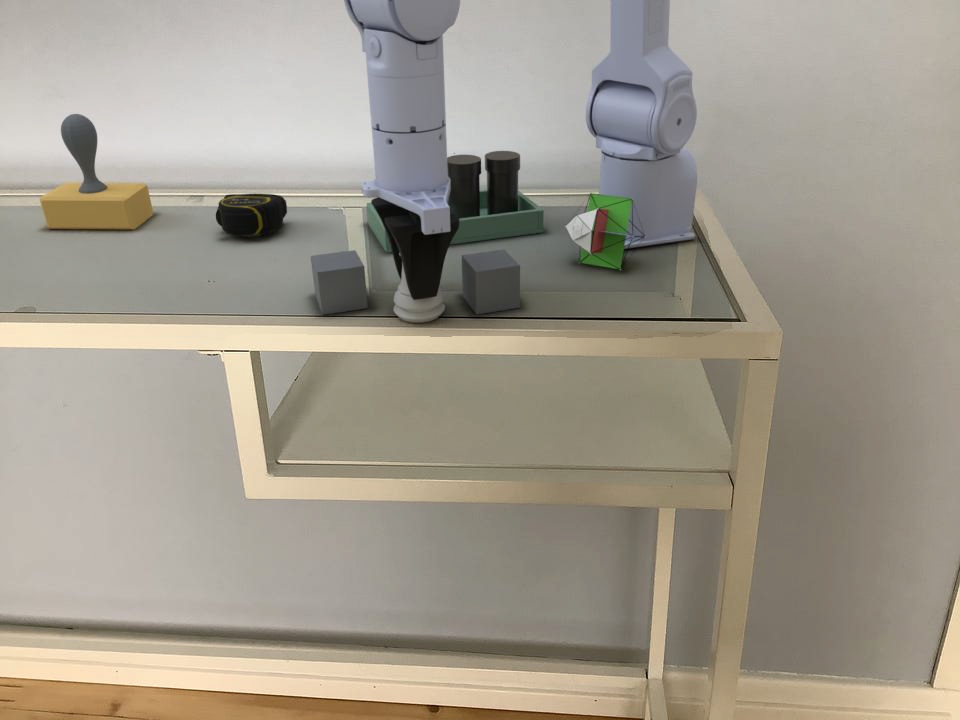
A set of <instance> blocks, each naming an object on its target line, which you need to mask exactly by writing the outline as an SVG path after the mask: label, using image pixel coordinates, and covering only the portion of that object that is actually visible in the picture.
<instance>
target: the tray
mask: <svg viewBox="0 0 960 720" xmlns="http://www.w3.org/2000/svg"><path fill="white" fill-rule="evenodd" d="M448 206H449V204H448ZM366 211H367V224H368V226H369V228H370V230H371V231H372V232H373V234H374V235H375V237H376V239H377V240H378V242H379V244H380V245H381V247H382V248H383V250H384V251H385V253H386V254H388V253H389V254H390V253H392V250H391V246H390V243H389V239H388V236H387V233H386V231H385V228H384V226H383V223H382V221H381V219H380V217H379V215H378V213H377V212H376V210H375V208H374V206H373V205H372V203H371V202H366ZM544 214H545V213H544V209H543V208H541V207H540V206H539V205H538V204H536V202H534V201H533V200H531V199H530V198H529V197H528V196H526V195H525V194H524V193H522V191H520V190H519V189H518V212H509V213H501V214H493V215H487V188H486V189H480V216H477V217H469V218H461V219H459V228H458V230H457V232H456V234H455V235H454V237H453V239H452V241H451V243H450V245H457V244H465V243H472V242H479V241H487V240H495V239H504V238H510V237H518V236H525V235H526V236H527V235H533V234H542V233H544Z"/></svg>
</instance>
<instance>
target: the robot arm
mask: <svg viewBox="0 0 960 720" xmlns="http://www.w3.org/2000/svg"><path fill="white" fill-rule="evenodd" d="M343 1H344V6H345V9H346V12H347V14H348V17H349V19H350V20H351V22H352V23H353V24H354V26H355V27H356V28H357V30H358V32H359V35H360V39H361V51H362V52H363V53H365V63H366V74H367V75H366V76H367V77H366V78H367V87H368V88H367V89H368V101H369V112H370V125H371V136H372V150H373V163H374V173H375V174H374V176H375V179H374V180H373V181H365V182H362V183H360V191H361V193H362V195H363V197H365V198H370V199H371V198H373V199H371V201H370V203H372V205H373V206H374V208H375V210H376V212H377V213H378V215H379V217H380V219H381V221H382V223H383V226H384V228H385V231H386V233H387V236H388V239H389V243H390V246H391V250H392V252H391V254H392V258H393V261H394V264H395V268H396V271H397V275H398V277H399V279H400V280H401V276H402V263H403V268H404V272H405V277H406V282H407V286H408V289H409V292H410V294H411V297H412V298H413V300H417V299H424V298H430V297H436V296H437V293H438V289H440V284H441V279H442V276H443V275H442V274H443V270H444V269H443V268H444V264H445V260H446V256H447V253H448V250H449V247H450V245H451V244H450V243H451V241H452V239H453V237H454V235H455V234H456V232H457V230H458V228H459V218H458V217H457V216H456V215H455V214H454V213H453V214H450V207H449V206H448V199H449V194H450V190H451V184H450V179H449V177H448V168H447V157H448V145H447V142H448V141H447V139H448V138H447V120H446V119H447V117H446V91H445V90H446V88H445V87H446V86H445V60H444V59H445V58H444V34H445V33H446V32H447V31H448V30H449V29H450V28H451V27H453V26H454V25H455V23H456V20H457V18H458V15H459V11H460V5H461V0H343ZM670 5H671V0H610V12H609V13H610V19H609V20H610V21H609V23H610V25H609V27H610V28H609V29H610V31H609V32H610V36H609V37H610V39H609V41H610V42H609V43H610V46H609V47H610V48H609V49H610V50H609V52H608V53H607V54H606V56H605V57H603V58H602V59H601V60H600V61H599V62H598V63H597V64H596V65H595V66H594V67H593V68H592V70H591V86H590V92H589V95H588V98H587V102H586V107H585V123H586V127H587V129H588V131H589V133H590V134H591V135H592V136H593V137H594V138H595V148H597V149H600V167H599V182H598V184H599V185H598V194H600V195H608V196H615V197H623V198H630V199H631V198H633V201H632V203H631V209H630V215H629V220H630V221H631V222H632V206H633V224H634V225H635V226H636V227H637V228H638V229H639V230H640V231H641V232H642V233H643V232H644V233H643V234H644V235H645V236H646V237H644V239H643V238H642V237H633V238H630V237H632V236H626V239H627V238H629V239H627V240H625V244H624V246H625V247H624V250H627V249H628V247H629V249H633V248H641V247H648V246H655V245H661V244H662V245H663V244H668V243H676V242H684V241H690V240H691V241H692V240H694V239H695V237H696V234H695V233H693V232H692V230H693V222H694V221H693V220H694V211H695V204H696V203H695V202H696V196H697V195H696V194H697V187H698V186H697V185H698V169H697V165H696V163H697V162H696V160H695V158H694V156H693V154H692V153H691V151H690V150H689V149H688V148H686V147H685V145H686V144H688V142H689V140H690V139H691V137H692V135H693V132H694V131H695V127H696V123H697V117H698V116H697V115H698V114H697V113H698V111H697V110H698V109H697V103H696V99H695V95H694V92H693V70H692V69H691V68H690V67H689V66H688V65H687V64H686V63H685V62H684V61H683V60H682V59H681V58H680V57H679V56H678V55H677V54H676V53H675V52H674V51H673V50H672V49H671V48H670V46H669V37H670V35H669V32H670V8H671V7H670ZM633 203H634V204H633ZM635 208H636V209H635ZM636 211H637V212H636ZM637 214H638V215H637ZM638 217H639V218H638ZM639 220H640V221H639ZM630 221H628V227H627V232H629V233H630V234H632V223H631V222H630ZM640 223H641V224H640ZM634 225H633V235H638V236H644V235H643V234H642V233H641V232H640V231H639V230H638V229H637V228H636V227H635V226H634ZM641 226H642V227H641ZM690 226H692V228H690V229H687V228H689V227H690ZM642 229H643V230H642ZM629 233H626V234H629ZM640 238H642V239H640ZM631 239H632V241H631ZM638 239H640V240H638ZM636 240H638V241H636ZM634 241H636V242H634ZM630 242H631V243H632V242H634V243H632V244H630ZM640 242H641V243H640ZM628 244H630V246H629V245H628ZM626 245H627V246H626ZM637 246H638V247H637ZM399 253H400V255H401V256H400V255H399Z"/></svg>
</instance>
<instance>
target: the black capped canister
mask: <svg viewBox="0 0 960 720" xmlns="http://www.w3.org/2000/svg"><path fill="white" fill-rule="evenodd" d="M484 170H485V171H486V189H487V215H493V214H501V213H509V212H518V190H519V171H520V170H521V154H520V153H518V152H516V151H512V150H494V151H490V152H487V153H485V154H484Z"/></svg>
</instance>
